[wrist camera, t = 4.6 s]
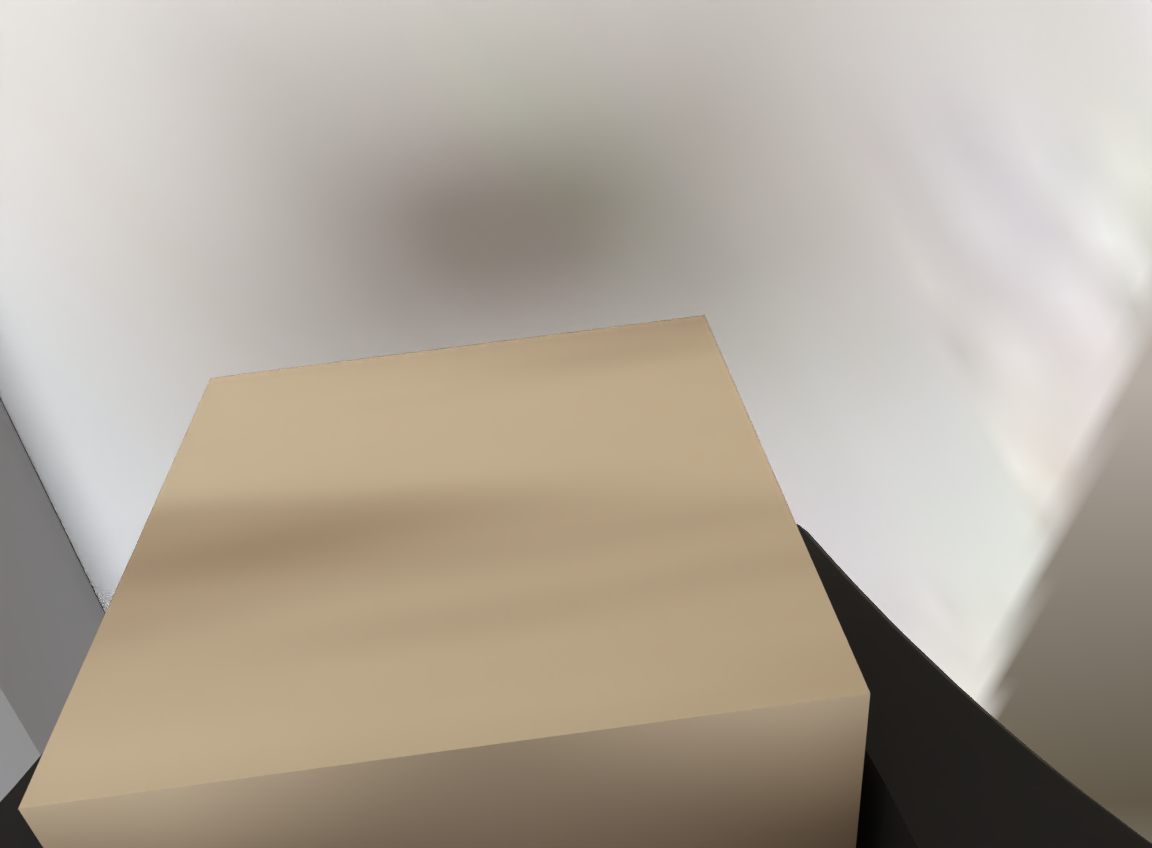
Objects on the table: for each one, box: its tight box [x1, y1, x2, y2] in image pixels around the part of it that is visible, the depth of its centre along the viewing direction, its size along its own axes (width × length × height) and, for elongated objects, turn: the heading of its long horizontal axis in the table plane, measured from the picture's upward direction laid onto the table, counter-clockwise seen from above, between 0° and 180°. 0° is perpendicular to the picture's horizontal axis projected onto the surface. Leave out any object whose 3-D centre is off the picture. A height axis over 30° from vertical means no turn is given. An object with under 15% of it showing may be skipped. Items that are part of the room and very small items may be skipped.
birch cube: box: [18, 315, 870, 848], centre depth 9 cm, size 5×5×5 cm
